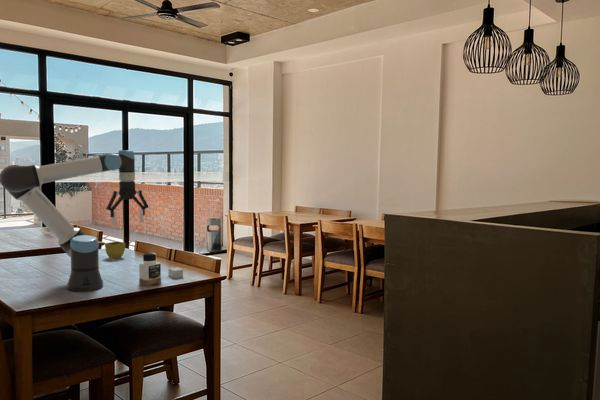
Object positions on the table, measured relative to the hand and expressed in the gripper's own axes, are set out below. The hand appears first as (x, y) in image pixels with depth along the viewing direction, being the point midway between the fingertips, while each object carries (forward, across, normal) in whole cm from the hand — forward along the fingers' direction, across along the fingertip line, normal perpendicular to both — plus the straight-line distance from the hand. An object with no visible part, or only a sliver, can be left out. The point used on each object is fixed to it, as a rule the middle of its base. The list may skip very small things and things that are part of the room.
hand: (128, 222), depth 242 cm
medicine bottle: (+25, +3, -21) cm, 33 cm away
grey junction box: (+28, +19, -14) cm, 36 cm away
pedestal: (+27, +3, -21) cm, 35 cm away
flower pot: (+28, +7, +51) cm, 58 cm away
